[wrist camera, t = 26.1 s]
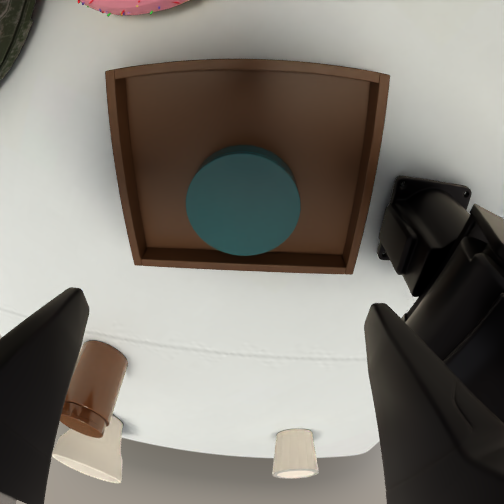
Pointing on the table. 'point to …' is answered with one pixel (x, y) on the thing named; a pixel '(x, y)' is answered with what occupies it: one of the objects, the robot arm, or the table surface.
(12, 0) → the canister
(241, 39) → the table surface
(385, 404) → the robot arm
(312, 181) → the tray
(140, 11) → the doughnut
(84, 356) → the jar
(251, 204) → the lid
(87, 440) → the cream flower pot
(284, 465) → the cream cylinder
